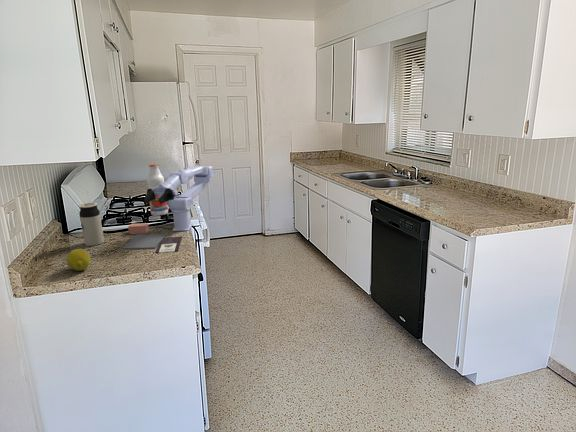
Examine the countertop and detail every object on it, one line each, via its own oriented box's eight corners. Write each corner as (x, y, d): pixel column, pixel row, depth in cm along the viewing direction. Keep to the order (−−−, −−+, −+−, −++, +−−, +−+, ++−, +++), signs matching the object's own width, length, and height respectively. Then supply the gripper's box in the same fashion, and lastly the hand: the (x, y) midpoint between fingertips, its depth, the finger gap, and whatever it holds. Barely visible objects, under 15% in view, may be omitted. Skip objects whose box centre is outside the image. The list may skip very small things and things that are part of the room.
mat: (137, 235, 186) (137, 234, 186) (167, 234, 186) (166, 233, 186) (122, 249, 169) (122, 248, 169) (155, 248, 169) (154, 247, 169)
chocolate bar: (181, 236, 182) (177, 250, 165) (182, 238, 182) (177, 252, 165) (161, 237, 181) (155, 252, 164) (161, 239, 181) (155, 254, 164)
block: (129, 234, 189) (127, 226, 188) (132, 231, 193) (131, 223, 192) (145, 234, 189) (144, 226, 188) (148, 231, 194) (147, 223, 192)
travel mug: (104, 239, 183) (98, 201, 178) (103, 244, 176) (97, 205, 171) (85, 241, 180) (78, 203, 175) (84, 247, 173) (76, 207, 168)
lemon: (91, 272, 147) (87, 252, 144) (67, 276, 144) (63, 256, 142) (92, 262, 156) (89, 243, 154) (70, 265, 153) (66, 246, 151)
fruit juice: (165, 210, 229) (159, 162, 221) (170, 213, 222) (165, 164, 214) (148, 213, 224) (142, 164, 216) (153, 216, 217) (147, 166, 209)
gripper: (152, 179, 182) (135, 193, 171) (179, 178, 177) (163, 193, 167) (157, 192, 186) (140, 207, 175) (184, 192, 181) (169, 208, 170)
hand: (152, 201), depth 171 cm, fingers open, 7 cm apart
